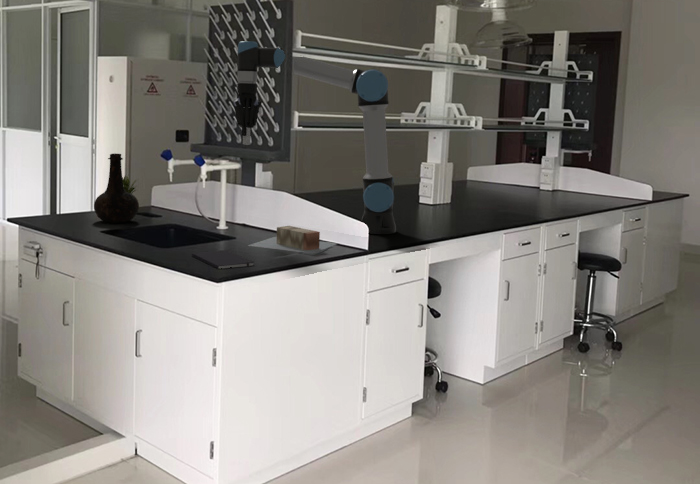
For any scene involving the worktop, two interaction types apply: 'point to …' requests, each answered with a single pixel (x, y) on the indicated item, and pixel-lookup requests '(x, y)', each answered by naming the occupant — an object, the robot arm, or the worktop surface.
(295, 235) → the birch block
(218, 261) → the notebook
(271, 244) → the grey mat
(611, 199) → the worktop surface
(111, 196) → the glass bottle
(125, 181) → the house plant
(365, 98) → the robot arm
